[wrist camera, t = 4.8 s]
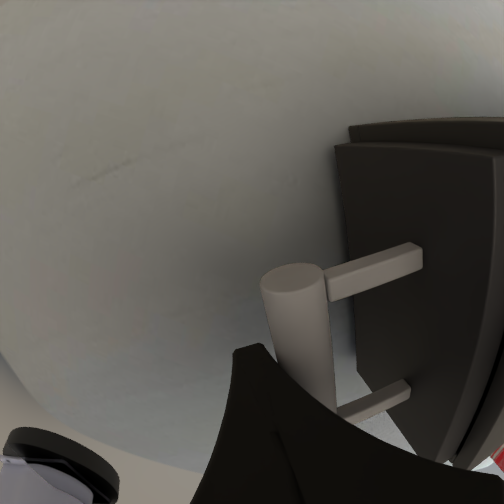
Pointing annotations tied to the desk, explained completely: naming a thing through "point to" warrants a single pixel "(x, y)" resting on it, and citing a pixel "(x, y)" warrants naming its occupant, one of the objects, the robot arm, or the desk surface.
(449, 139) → the cabinet
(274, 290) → the drawer
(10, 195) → the desk surface
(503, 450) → the pill bottle
